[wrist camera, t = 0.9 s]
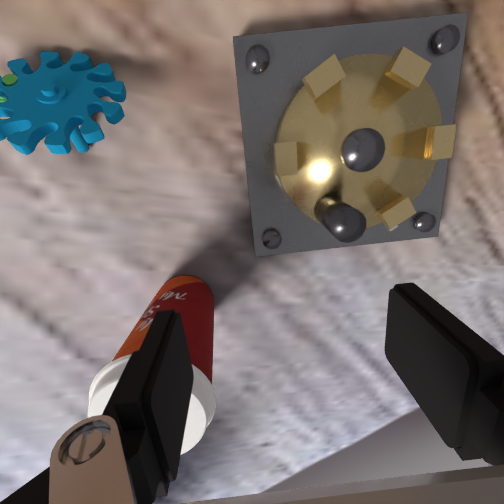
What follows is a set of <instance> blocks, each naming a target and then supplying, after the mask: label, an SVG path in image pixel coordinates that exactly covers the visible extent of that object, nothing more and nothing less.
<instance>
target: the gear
mask: <svg viewBox="0 0 504 504" xmlns="http://www.w3.org/2000/svg"><path fill="white" fill-rule="evenodd" d="M40 58H41V65H40V67H39V68H38V69H37V70H36V72H34V73H33V71H32V70H31V68H30V66H29V65H28V63H27V61H26V60H25V59H24V58H23V59H16V60H12V61H9V62H8V63H7V65H8V67H9V68H10V70H11V71H12V73H13V74H8V75H5V76H4V77H3V78H2V77H1V76H0V117H10V118H8V119H0V141H1V140H3V139H5V138H6V137H7V140H8V141H9V142H10V143H11V144H12V145H13V146H14V148H15V149H16V150H17V151H19V152H21V153H23V154H26V155H28V154H30V153H32V152H33V151H34V150H35V148H36V146H37V144H38V143H39V141H40V140H42V139H43V138H44V137H46V136H47V135H48V136H47V137H46V138H45V141H44V142H45V145H46V146H47V147H48V149H49V150H50V151H51V153H54V154H68V153H69V152H70V151H71V145H70V141H69V140H70V139H71V140H72V142H73V144H74V145H75V147H76V149H77V150H78V151H79V152H81V153H84V152H87V151H88V150H89V145H88V143H95V142H98V141H100V140H102V139H104V134H103V132H102V130H101V127H100V125H99V124H98V123H96V122H94V121H93V120H92V115H93V114H94V113H96V112H103V113H104V114H105V117H106V119H107V121H108V122H109V123H111V124H116V123H118V122H119V121H120V120H121V119H122V118H123V117H124V116H125V115H124V112H123V110H122V107H121V105H120V104H118V103H116V102H124V100H125V99H126V89H125V86H124V83H123V82H122V81H115V77H114V74H113V71H112V69H111V67H110V65H109V64H108V63H101V64H99V65H97V66H96V67H94V68H93V65H92V63H91V60H90V58H89V57H88V56H87V55H85V54H83V53H80V52H76V53H74V54H73V55H72V57H71V59H70V60H69V61H68V62H67V63H66V64H64V65H63V62H62V60H61V58H60V56H59V54H58V53H57V52H51V51H43V52H42V53H41V54H40ZM99 82H102V83H99ZM102 96H108V97H110V98H111V99H112V100H114V101H116V102H108V101H104V100H102V99H100V97H102ZM79 125H82V126H81V127H80V129H79V127H78V126H79ZM23 130H24V131H23ZM53 132H54V133H53ZM51 133H52V134H51ZM49 134H50V135H49Z"/></svg>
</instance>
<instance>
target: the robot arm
mask: <svg viewBox="0 0 504 504" xmlns="http://www.w3.org/2000/svg"><path fill="white" fill-rule="evenodd" d="M385 355H386V357H387V359H388V361H389V363H390V364H391V365H392V367H393V368H394V370H395V371H396V373H397V374H398V376H399V377H400V379H401V380H402V381H403V383H404V384H405V386H406V387H407V389H408V390H409V392H410V393H411V394H412V396H413V397H414V399H415V400H416V402H417V403H418V405H419V406H420V408H421V409H422V410H423V412H424V413H425V415H426V416H427V418H428V419H429V420H430V422H431V423H432V425H433V426H434V428H435V429H436V431H437V432H438V434H439V435H440V436H441V438H442V440H443V441H444V442H445V443H446V445H447V446H448V447H450V448H454V449H455V451H456V452H457V454H458V455H459V456H460V458H461V459H462V460H463V461H464V460H472V459H481V458H483V459H484V461H485V462H487V463H488V466H489V467H480V468H472V469H462V470H453V471H445V472H436V473H427V474H418V475H410V476H401V477H393V478H385V479H376V480H368V481H359V482H351V483H342V484H334V485H325V486H317V487H309V488H301V489H292V490H284V491H276V492H269V493H260V494H252V495H244V496H236V497H228V498H220V499H212V500H204V501H196V502H189V503H182V504H504V355H503V354H501V353H500V352H499V351H498V350H496V349H495V348H494V347H493V346H491V345H490V344H489V343H488V342H486V341H485V340H484V339H483V338H481V337H480V336H479V335H478V334H477V333H475V332H474V331H473V330H472V329H470V328H469V327H468V326H467V325H465V324H464V323H463V322H462V321H460V320H459V319H458V318H457V317H455V316H454V315H453V314H452V313H450V312H449V311H448V310H447V309H445V308H444V307H443V306H442V305H440V304H439V303H438V302H437V301H436V300H434V299H433V298H432V297H431V296H429V295H428V294H427V293H426V292H424V291H423V290H422V289H421V288H419V287H418V286H417V285H416V284H414V283H403V284H396V285H395V286H394V288H393V289H390V291H389V301H388V313H387V326H386V339H385ZM193 381H194V374H193V368H192V363H191V359H190V354H189V349H188V345H187V340H186V335H185V331H184V326H183V322H182V317H181V314H180V313H176V312H175V310H174V309H170V310H161V311H157V312H156V315H155V317H154V319H153V321H152V323H151V325H150V327H149V330H148V332H147V334H146V336H145V338H144V340H143V343H142V345H141V347H140V349H139V350H137V351H134V352H133V353H132V354H131V356H130V358H129V360H128V362H127V364H126V366H125V368H124V370H123V372H122V375H121V377H120V379H119V381H118V383H117V385H116V387H115V389H114V391H113V393H112V395H111V397H110V399H109V401H108V403H107V405H106V407H105V409H104V411H103V413H102V415H97V416H92V417H89V418H87V419H84V420H82V421H80V422H79V423H77V424H75V425H74V426H72V427H71V428H70V429H69V430H67V431H66V432H65V433H64V434H63V435H62V437H61V438H60V439H59V440H58V441H57V443H56V445H55V446H54V448H53V450H52V453H51V458H50V467H48V468H47V469H46V470H44V471H43V472H41V473H40V474H39V475H37V476H36V477H35V478H33V479H32V480H30V481H29V482H28V483H26V484H25V485H23V486H22V487H21V488H19V489H18V490H17V491H15V492H14V493H12V494H11V495H10V496H8V497H7V498H6V499H4V500H3V501H1V502H0V504H152V503H153V502H154V501H155V497H161V496H167V493H168V488H169V483H170V481H175V479H176V476H177V471H178V466H179V460H180V455H181V449H182V443H183V438H184V432H185V426H186V421H187V415H188V410H189V404H190V398H191V393H192V387H193Z"/></svg>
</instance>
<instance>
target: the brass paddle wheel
mask: <svg viewBox="0 0 504 504" xmlns="http://www.w3.org/2000/svg"><path fill="white" fill-rule="evenodd" d="M430 66H431V63H430V62H428V61H426V60H425V59H423V58H422V57H420V56H418V55H417V54H415V53H413V52H412V51H410V50H409V49H407V48H405V47H404V46H403V47H402V48H400V49H398V50H396V52H395V54H394V56H393V57H391V56H388V55H382V54H360V55H354V56H350V57H347V58H344V59H341V60H339V61H338V59H337V57H336V55H335V54H333V55H332V56H331V57H330V58H328V59H327V60H326V61H324V62H323V63H322V64H321V65H319V66H318V67H317V68H316V69H314V70H313V71H312V72H310V73H309V74H308V75H307V76H305V77H304V78H303V79H302V81H303V83H304V85H303V86H302V87H301V88H300V89H299V91H298V92H297V93H296V94H295V95H294V97H293V98H292V100H291V101H290V102H289V104H288V106H287V108H286V109H285V111H284V113H283V115H282V118H281V121H280V123H279V126H278V131H277V135H276V141H275V143H273V145H274V160H275V175H276V176H277V177H278V176H279V179H280V182H281V184H282V186H283V188H284V190H285V192H286V193H287V195H288V196H289V198H290V199H291V200H292V201H293V203H294V204H295V205H296V206H297V207H298V208H299V209H300V210H301V211H302V212H303V213H304V214H306V215H307V216H308V217H310V218H311V219H313V220H314V221H316V222H318V223H320V224H322V225H323V226H324V227H325V228H326V229H327V230H328V231H329V232H330V233H331V234H332V235H333V236H334V237H335V238H336V239H337V240H339V241H341V242H344V243H350V242H353V241H356V240H357V239H359V238H360V237H361V236H362V235H363V233H364V232H365V229H366V228H368V227H371V226H375V225H378V224H380V223H382V222H383V224H384V226H385V227H387V228H389V229H392V228H393V227H395V226H397V225H398V224H400V223H401V222H403V221H404V220H406V219H407V218H409V217H411V216H412V215H414V214H415V213H416V211H415V209H414V207H413V205H412V202H413V200H414V199H415V198H416V197H417V196H418V195H419V194H420V192H421V191H422V190H423V188H424V187H425V185H426V184H427V182H428V180H429V178H430V177H431V175H432V173H433V170H434V168H435V166H436V163H437V160H438V159H445V158H452V154H453V146H454V139H455V132H456V125H457V124H452V125H442V118H441V112H440V107H439V104H438V102H437V99H436V96H435V94H434V92H433V90H432V88H431V86H430V85H429V84H428V82H427V81H426V79H425V78H424V77H425V75H426V73H427V71H428V70H429V68H430Z"/></svg>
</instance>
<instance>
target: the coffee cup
mask: <svg viewBox="0 0 504 504" xmlns="http://www.w3.org/2000/svg"><path fill="white" fill-rule="evenodd" d="M170 309H174V310H175V312H176V313H180V314H181V317H182V322H183V326H184V331H185V335H186V340H187V345H188V349H189V354H190V359H191V363H192V368H193V374H194V381H193V387H192V393H191V398H190V404H189V410H188V415H187V421H186V426H185V432H184V438H183V443H182V449H181V455H182V454H184V453H185V452H187V451H189V450H190V449H191V448H193V447H194V446H195V445H196V444H197V443H198V442H199V441H200V439H201V438H202V436H203V435H204V433H205V430H206V428H207V427H208V425H209V424H210V422H211V421H212V419H213V416H214V414H215V410H216V395H215V391H214V389H213V386H212V365H213V331H214V299H213V294H212V291H211V289H210V288H209V286H208V285H207V284H206V283H205V282H204V281H202V280H200V279H199V278H196V277H193V276H188V275H182V276H177V277H174V278H172V279H170V280H168V281H167V282H166V283H165V284H164V285H163V286H162V287H161V289H160V290H159V291H158V293H157V294H156V296H155V297H154V299H153V300H152V302H151V303H150V304H149V306H148V307H147V309H146V310H145V312H144V313H143V315H142V316H141V318H140V319H139V321H138V322H137V324H136V326H135V327H134V329H133V330H132V332H131V333H130V335H129V336H128V338H127V339H126V341H125V342H124V344H123V345H122V347H121V348H120V350H119V351H118V353H117V354H116V356H115V357H114V359H113V360H112V362H110V363H109V364H107V365H106V366H105V367H104V368H103V369H101V370H100V371H99V372H98V374H97V375H96V377H95V378H94V380H93V382H92V384H91V387H90V391H89V407H88V418H89V417H92V416H97V415H102V413H103V411H104V409H105V407H106V405H107V403H108V401H109V399H110V397H111V395H112V393H113V391H114V389H115V387H116V385H117V383H118V381H119V379H120V377H121V375H122V372H123V370H124V368H125V366H126V364H127V362H128V360H129V358H130V356H131V354H132V353H133V352H134V351H137V350H139V349H140V347H141V345H142V343H143V340H144V338H145V336H146V334H147V332H148V330H149V327H150V325H151V323H152V321H153V319H154V317H155V315H156V312H157V311H161V310H170Z"/></svg>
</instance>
